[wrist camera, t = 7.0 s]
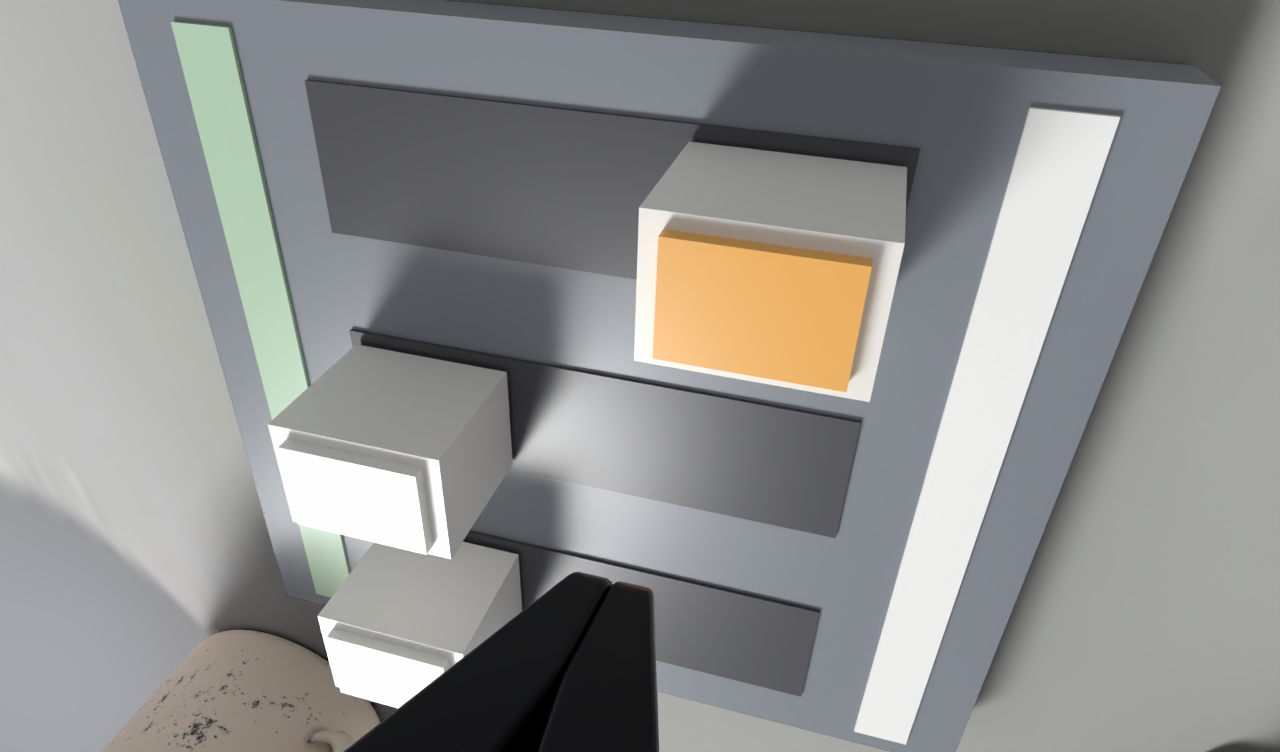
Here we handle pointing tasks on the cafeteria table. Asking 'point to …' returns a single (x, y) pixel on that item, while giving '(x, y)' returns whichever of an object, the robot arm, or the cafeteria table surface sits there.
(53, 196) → the cafeteria table surface
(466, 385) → the block
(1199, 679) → the cafeteria table surface
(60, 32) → the cafeteria table surface
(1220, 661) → the cafeteria table surface
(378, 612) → the block
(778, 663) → the panel
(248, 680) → the teacup with lid
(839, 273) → the block
